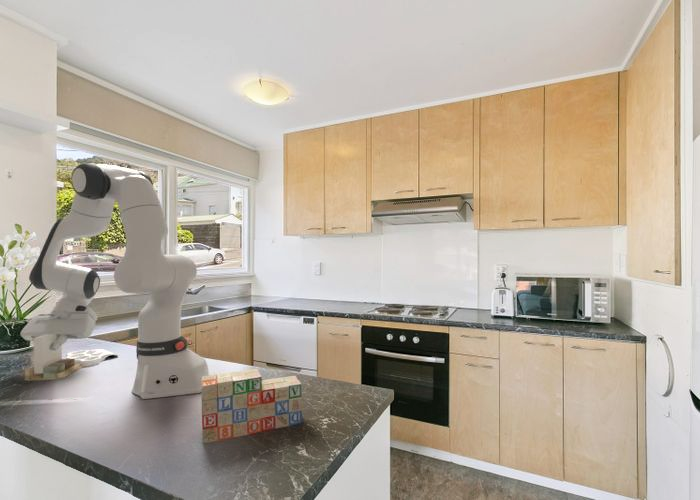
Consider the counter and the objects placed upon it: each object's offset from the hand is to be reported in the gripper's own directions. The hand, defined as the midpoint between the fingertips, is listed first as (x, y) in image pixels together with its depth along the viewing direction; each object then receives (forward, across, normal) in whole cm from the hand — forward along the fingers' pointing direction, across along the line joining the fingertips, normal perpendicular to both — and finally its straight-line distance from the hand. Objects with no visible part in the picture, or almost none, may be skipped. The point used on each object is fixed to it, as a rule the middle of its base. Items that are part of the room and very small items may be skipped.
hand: (46, 349), depth 112 cm
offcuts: (+5, +3, +6) cm, 9 cm away
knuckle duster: (-4, +3, +18) cm, 18 cm away
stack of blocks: (+34, +71, -20) cm, 81 cm away
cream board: (+4, 0, +5) cm, 6 cm away
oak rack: (+6, +1, +7) cm, 9 cm away
